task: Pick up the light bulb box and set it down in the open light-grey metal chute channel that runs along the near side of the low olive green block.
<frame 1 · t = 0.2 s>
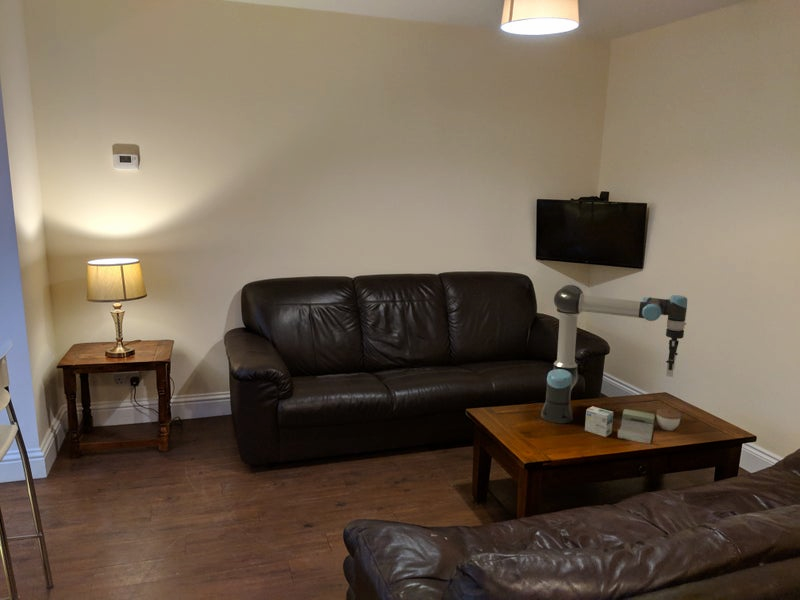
hand: (670, 372, 283), 28 cm above the table, fingers open, 13 cm apart
olive green block: (637, 425, 290), on the table
lidded jar: (667, 428, 288), on the table
light bulb box: (598, 432, 282), on the table
chute: (635, 434, 280), on the table
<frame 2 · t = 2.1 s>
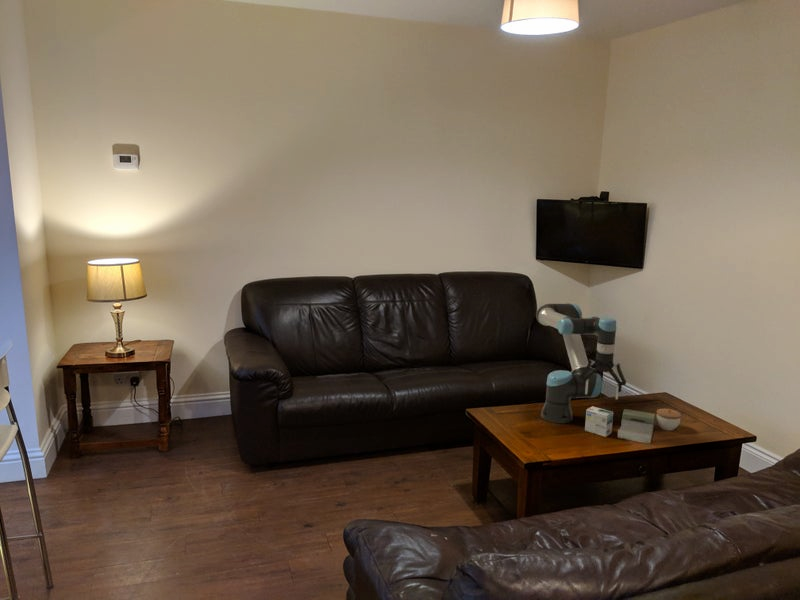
hand: (601, 395, 278), 18 cm above the table, fingers open, 13 cm apart
nothing on the table moved.
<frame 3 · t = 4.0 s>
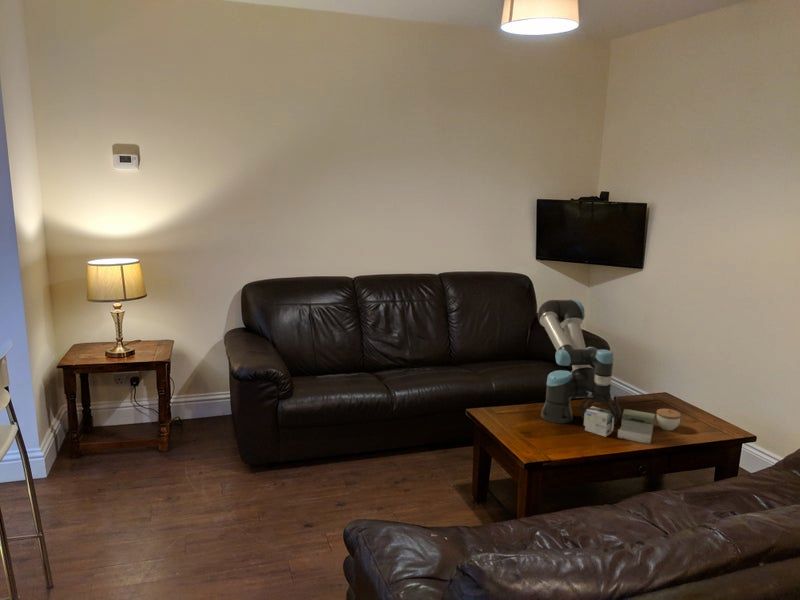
hand: (598, 427, 282), 2 cm above the table, fingers closed on light bulb box, 12 cm apart
light bulb box: (598, 432, 282), on the table, touching gripper
everything else where it was.
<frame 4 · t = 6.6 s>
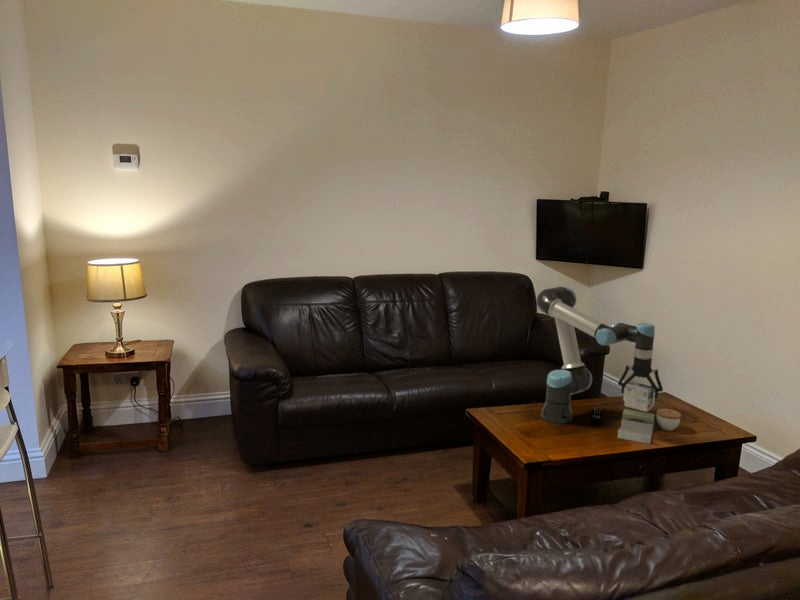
hand: (638, 402, 276), 16 cm above the table, fingers closed on light bulb box, 12 cm apart
light bulb box: (638, 407, 277), point 13 cm above the table, touching gripper
everything else where it was.
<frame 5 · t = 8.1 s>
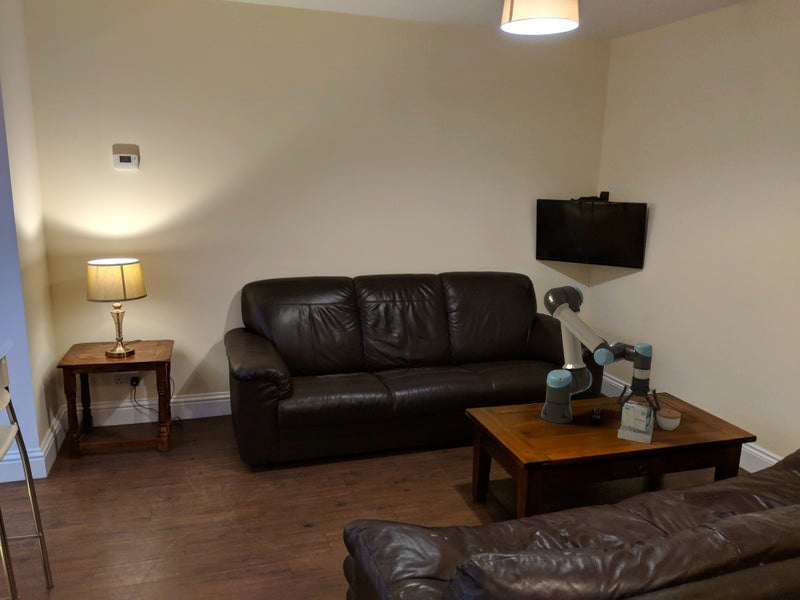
hand: (636, 421, 278), 7 cm above the table, fingers closed on light bulb box, 12 cm apart
light bulb box: (636, 426, 279), point 4 cm above the table, touching gripper
everything else where it was.
when the fingers open (5 cm above the table, at t = 9.2 s): light bulb box drops 2 cm, resting on chute.
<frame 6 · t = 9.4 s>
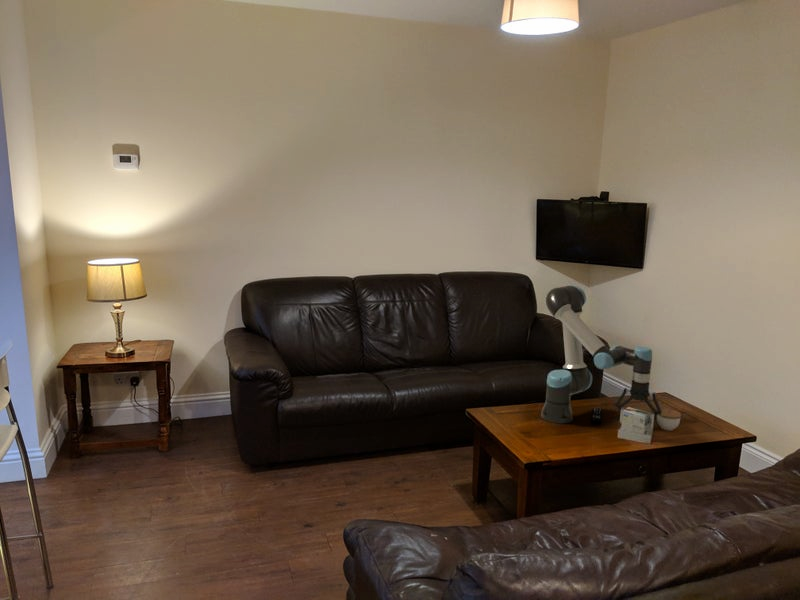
hand: (636, 424, 279), 5 cm above the table, fingers open, 13 cm apart
light bulb box: (634, 433, 280), point 1 cm above the table, touching chute
everything else where it was.
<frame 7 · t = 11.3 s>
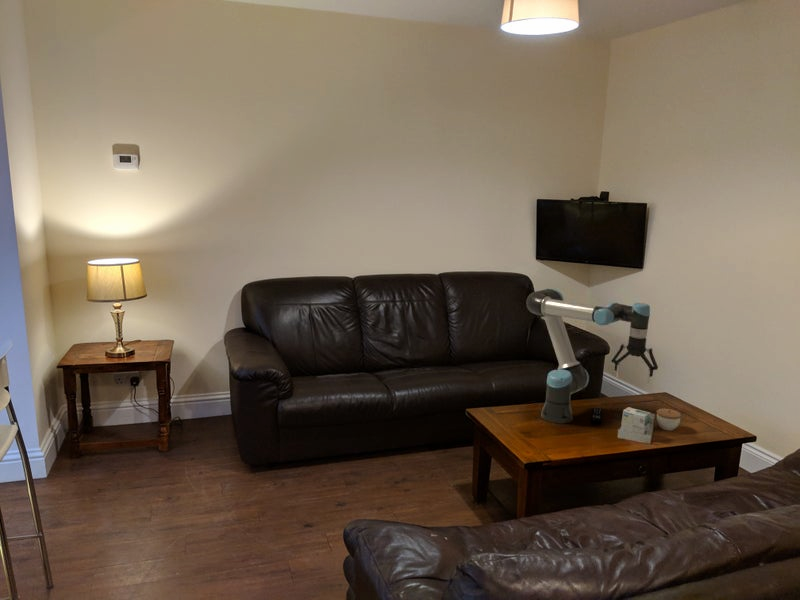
hand: (632, 380, 281), 24 cm above the table, fingers open, 13 cm apart
nothing on the table moved.
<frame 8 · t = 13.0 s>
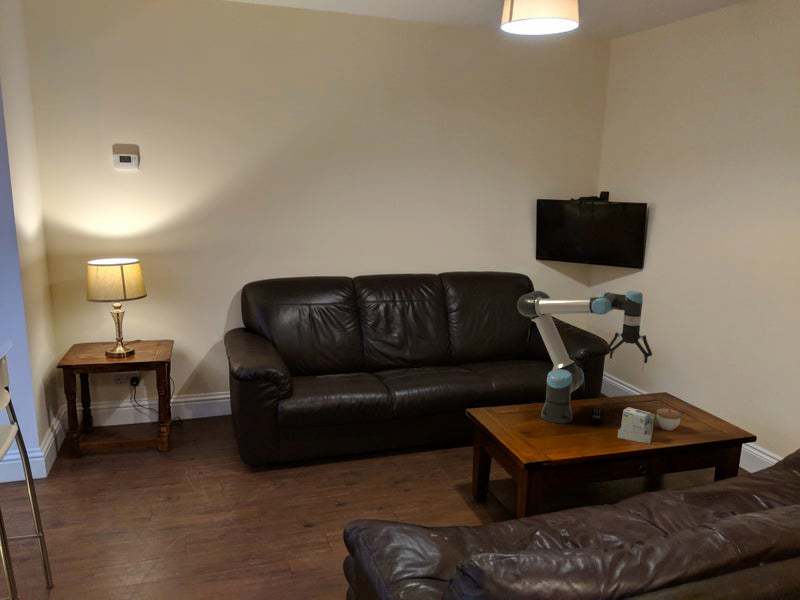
hand: (627, 367, 287), 29 cm above the table, fingers open, 13 cm apart
nothing on the table moved.
at the end: light bulb box inside the target area on the chute (0.3 cm from its centre), point 0.6 cm above the chute's base; light bulb box tilted 0°; the gripper is holding nothing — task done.
